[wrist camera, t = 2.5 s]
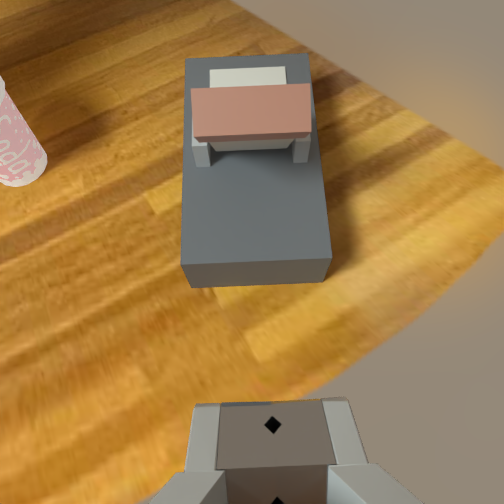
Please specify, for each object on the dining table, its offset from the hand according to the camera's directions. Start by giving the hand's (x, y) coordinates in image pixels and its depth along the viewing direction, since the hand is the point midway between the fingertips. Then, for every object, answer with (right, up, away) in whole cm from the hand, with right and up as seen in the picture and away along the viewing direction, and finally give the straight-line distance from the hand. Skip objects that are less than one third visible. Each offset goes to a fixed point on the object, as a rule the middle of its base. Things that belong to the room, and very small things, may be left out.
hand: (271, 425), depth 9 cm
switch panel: (0, +9, +28) cm, 30 cm away
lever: (0, +12, +23) cm, 25 cm away
